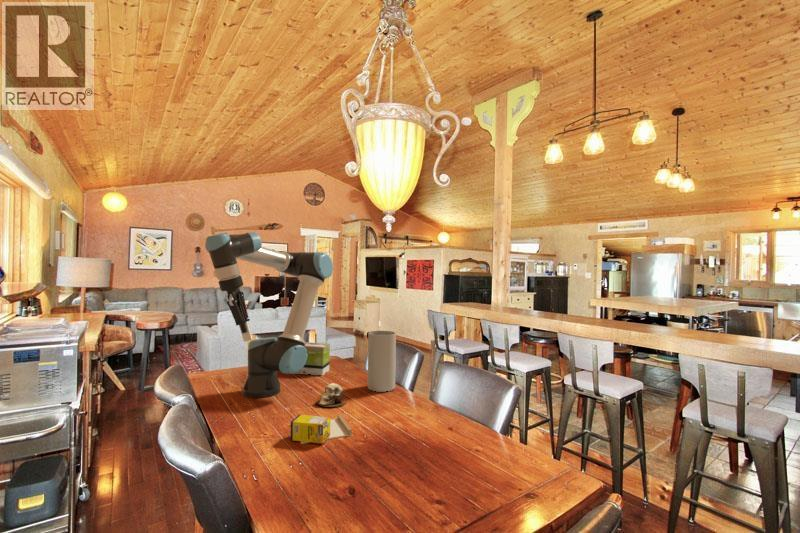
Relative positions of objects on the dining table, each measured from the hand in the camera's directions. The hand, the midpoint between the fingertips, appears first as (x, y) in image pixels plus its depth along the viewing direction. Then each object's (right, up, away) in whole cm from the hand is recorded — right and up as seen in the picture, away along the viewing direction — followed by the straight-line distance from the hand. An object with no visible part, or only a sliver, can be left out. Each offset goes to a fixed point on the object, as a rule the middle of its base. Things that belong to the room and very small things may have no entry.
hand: (248, 340), depth 137 cm
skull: (+27, -29, +15) cm, 42 cm away
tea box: (+10, -28, +59) cm, 66 cm away
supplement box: (+21, -25, -16) cm, 36 cm away
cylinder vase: (+46, -29, +35) cm, 65 cm away
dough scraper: (+29, -28, -11) cm, 42 cm away
